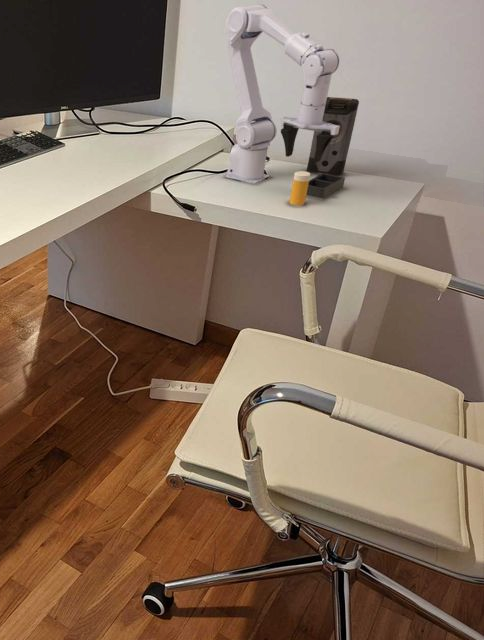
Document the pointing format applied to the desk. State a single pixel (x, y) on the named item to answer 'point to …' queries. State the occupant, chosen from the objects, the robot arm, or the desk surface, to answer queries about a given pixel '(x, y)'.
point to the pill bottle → (299, 188)
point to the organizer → (324, 185)
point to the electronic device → (335, 137)
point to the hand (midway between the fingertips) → (302, 158)
